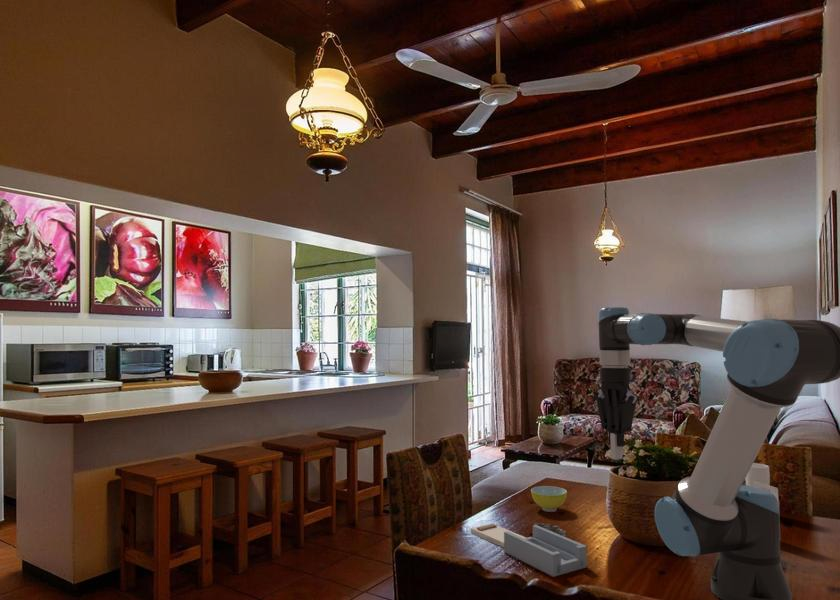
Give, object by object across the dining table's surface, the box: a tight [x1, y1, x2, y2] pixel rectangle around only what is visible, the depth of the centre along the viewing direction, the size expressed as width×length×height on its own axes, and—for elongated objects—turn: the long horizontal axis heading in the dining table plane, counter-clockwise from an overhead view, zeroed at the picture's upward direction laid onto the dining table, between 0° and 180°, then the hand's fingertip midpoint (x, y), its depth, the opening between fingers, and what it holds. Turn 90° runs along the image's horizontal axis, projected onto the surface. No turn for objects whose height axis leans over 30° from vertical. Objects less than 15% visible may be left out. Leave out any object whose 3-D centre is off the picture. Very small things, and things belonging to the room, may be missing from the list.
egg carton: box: [533, 522, 568, 537], centre depth 157 cm, size 11×8×4 cm
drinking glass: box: [744, 462, 771, 492], centre depth 181 cm, size 7×7×15 cm
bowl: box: [530, 485, 568, 513], centre depth 184 cm, size 11×12×6 cm
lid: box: [470, 523, 527, 549], centre depth 158 cm, size 16×8×2 cm, turn 34°
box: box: [503, 524, 588, 578], centre depth 144 cm, size 18×11×5 cm, turn 31°
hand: (616, 458), depth 147 cm, fingers closed
